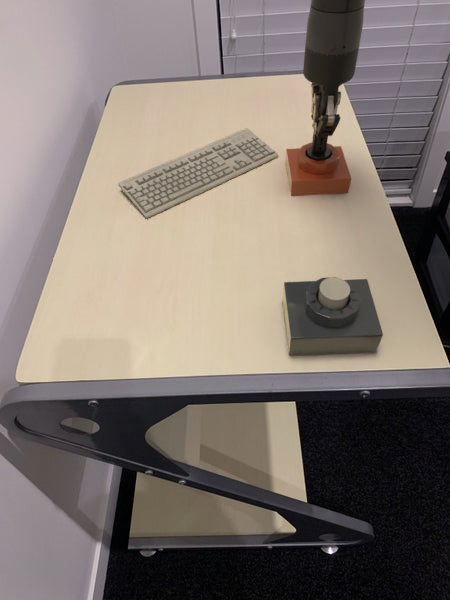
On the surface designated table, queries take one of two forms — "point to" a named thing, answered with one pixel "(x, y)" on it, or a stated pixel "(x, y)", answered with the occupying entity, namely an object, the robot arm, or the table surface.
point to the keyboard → (196, 172)
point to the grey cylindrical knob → (333, 293)
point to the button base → (317, 172)
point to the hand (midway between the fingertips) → (318, 151)
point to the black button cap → (318, 155)
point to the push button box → (330, 320)
